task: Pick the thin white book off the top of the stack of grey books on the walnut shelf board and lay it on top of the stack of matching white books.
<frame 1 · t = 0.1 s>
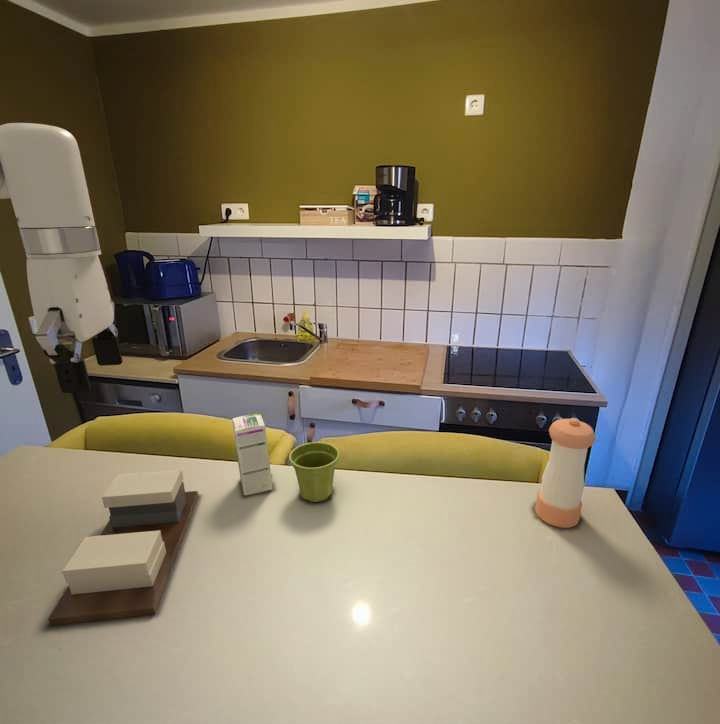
hand: (95, 377, 57), 31 cm above the table, tool pointing down, fingers open, 9 cm apart
syrup box: (256, 486, 86), on the table
white stack: (123, 578, 65), resting on shelf board
pepper shaker: (556, 514, 77), on the table
grey stack: (151, 520, 77), resting on shelf board
plant pot: (316, 493, 84), on the table
white book: (145, 493, 75), point 6 cm above the table, touching grey stack
shelf board: (137, 548, 70), on the table
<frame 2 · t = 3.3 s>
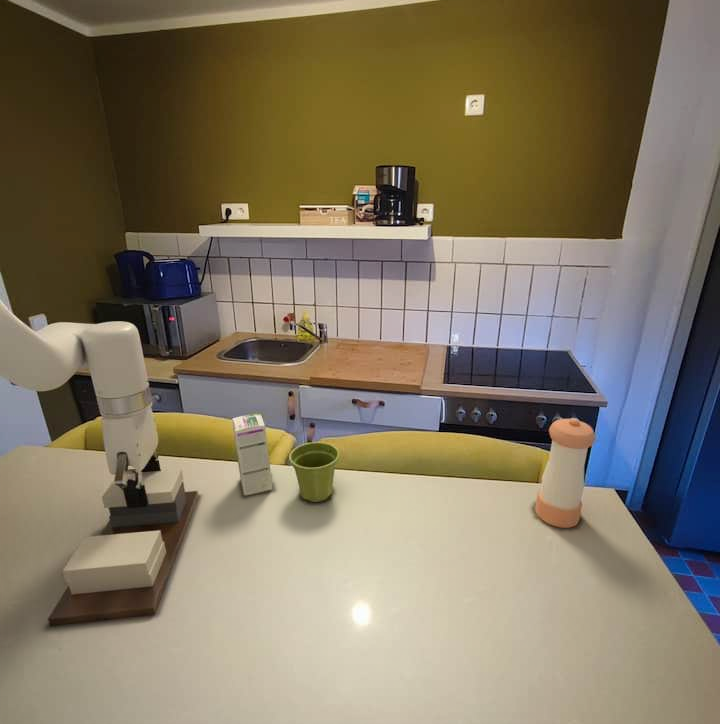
hand: (145, 492, 75), 6 cm above the table, tool pointing down, fingers closed on white book, 6 cm apart
white book: (145, 493, 75), point 6 cm above the table, touching grey stack, gripper
everything else where it was.
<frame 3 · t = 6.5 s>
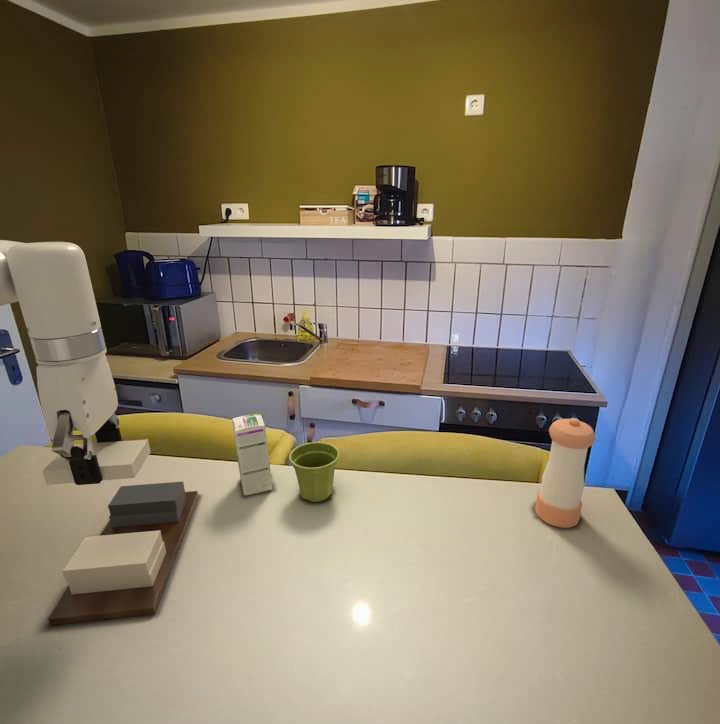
hand: (101, 466, 60), 19 cm above the table, tool pointing down, fingers closed on white book, 6 cm apart
white book: (101, 467, 60), point 18 cm above the table, touching gripper
everything else where it was.
when the fingers open (6 cm above the table, at t = 9.9 s): white book stays where it is, resting on white stack.
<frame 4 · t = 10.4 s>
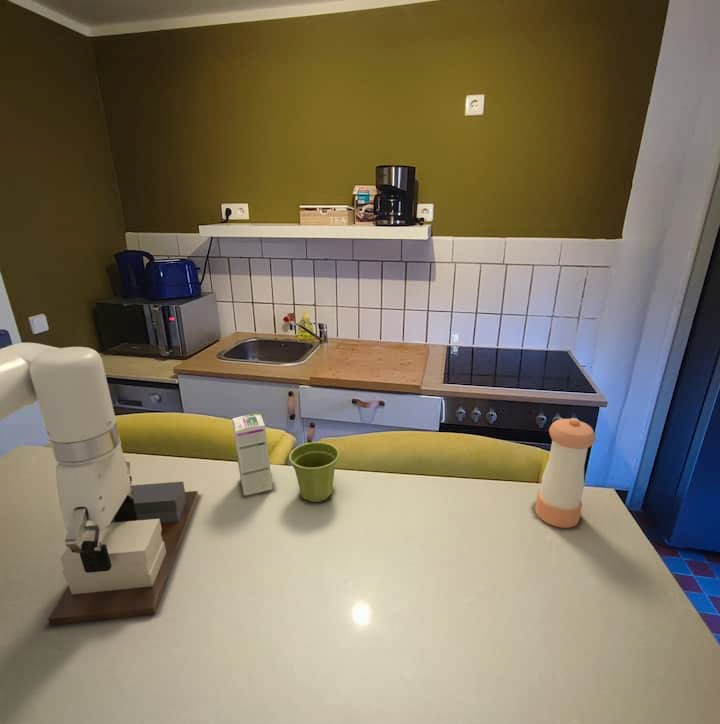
hand: (113, 543, 62), 7 cm above the table, tool pointing down, fingers open, 9 cm apart
white book: (116, 549, 63), point 6 cm above the table, touching white stack
everything else where it was.
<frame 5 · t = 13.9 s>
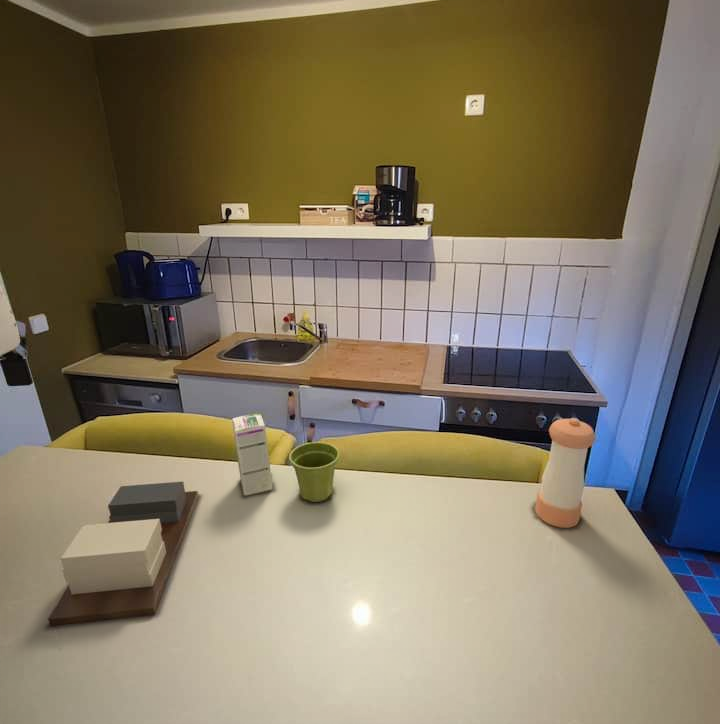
nothing on the table moved.
at the end: white book 0.0 cm off-centre on the white stack, point 5.6 cm above the white stack's base; white book tilted 0°; the gripper is holding nothing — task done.
